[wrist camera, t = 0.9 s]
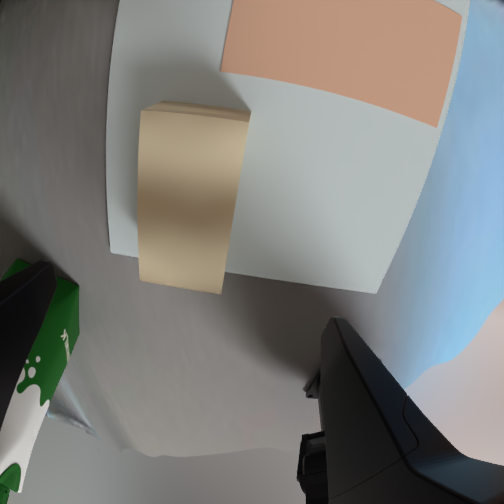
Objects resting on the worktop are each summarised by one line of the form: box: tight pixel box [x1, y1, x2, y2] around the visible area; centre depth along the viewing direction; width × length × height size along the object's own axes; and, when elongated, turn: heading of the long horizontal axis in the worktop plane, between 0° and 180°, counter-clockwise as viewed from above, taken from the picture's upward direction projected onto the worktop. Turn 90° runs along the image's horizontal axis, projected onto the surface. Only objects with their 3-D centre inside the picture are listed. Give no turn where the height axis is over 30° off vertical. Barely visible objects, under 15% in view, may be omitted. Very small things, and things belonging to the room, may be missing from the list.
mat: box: [106, 0, 470, 294], centre depth 16 cm, size 24×20×1 cm
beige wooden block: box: [137, 101, 251, 294], centre depth 17 cm, size 10×5×4 cm, turn 170°
